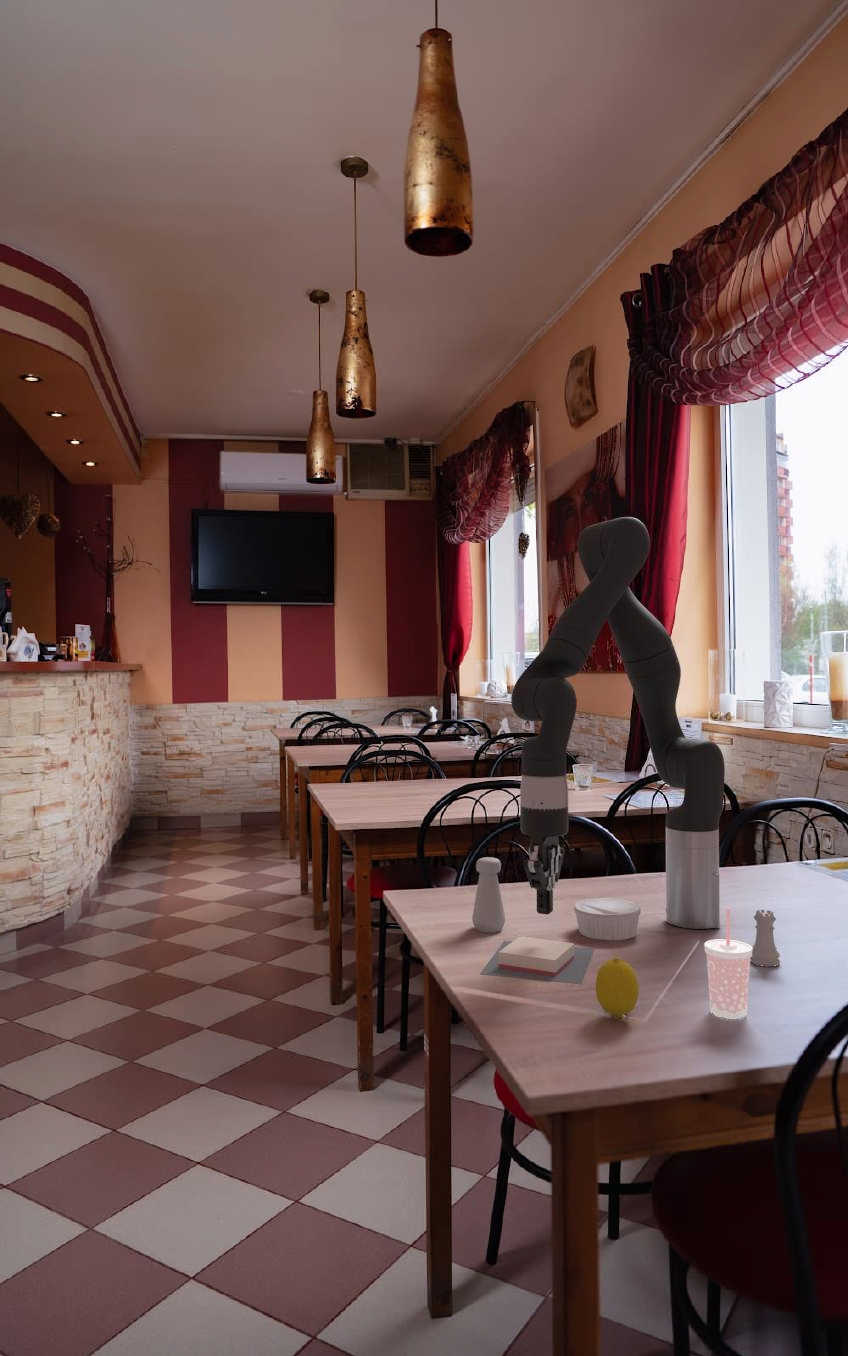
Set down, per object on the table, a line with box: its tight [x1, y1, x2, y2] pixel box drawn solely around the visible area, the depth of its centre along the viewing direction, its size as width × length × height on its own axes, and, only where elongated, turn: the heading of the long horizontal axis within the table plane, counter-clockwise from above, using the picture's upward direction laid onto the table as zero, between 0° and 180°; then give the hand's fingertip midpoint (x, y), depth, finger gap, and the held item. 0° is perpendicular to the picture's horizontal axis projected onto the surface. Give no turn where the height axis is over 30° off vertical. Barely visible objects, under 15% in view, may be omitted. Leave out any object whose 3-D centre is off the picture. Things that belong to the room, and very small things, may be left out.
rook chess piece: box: [750, 909, 781, 967], centre depth 139 cm, size 4×4×8 cm
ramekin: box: [573, 897, 641, 941], centre depth 154 cm, size 11×11×5 cm
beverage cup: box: [703, 907, 754, 1019], centre depth 118 cm, size 6×6×14 cm
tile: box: [499, 935, 575, 976], centre depth 137 cm, size 2×9×9 cm
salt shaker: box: [471, 856, 506, 934], centre depth 156 cm, size 6×6×13 cm
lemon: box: [595, 957, 640, 1020], centre depth 117 cm, size 6×6×8 cm
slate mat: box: [479, 940, 595, 985], centre depth 139 cm, size 15×17×1 cm
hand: (544, 912), depth 141 cm, fingers closed
